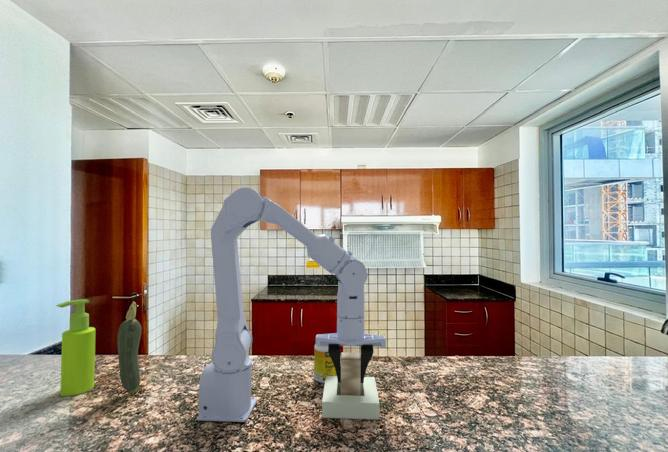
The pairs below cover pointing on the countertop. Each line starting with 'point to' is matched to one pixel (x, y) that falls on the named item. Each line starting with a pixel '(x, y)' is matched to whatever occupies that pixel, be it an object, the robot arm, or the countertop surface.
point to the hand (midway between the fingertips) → (350, 380)
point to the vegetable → (129, 351)
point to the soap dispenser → (77, 352)
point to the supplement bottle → (323, 364)
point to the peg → (350, 373)
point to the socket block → (350, 401)
